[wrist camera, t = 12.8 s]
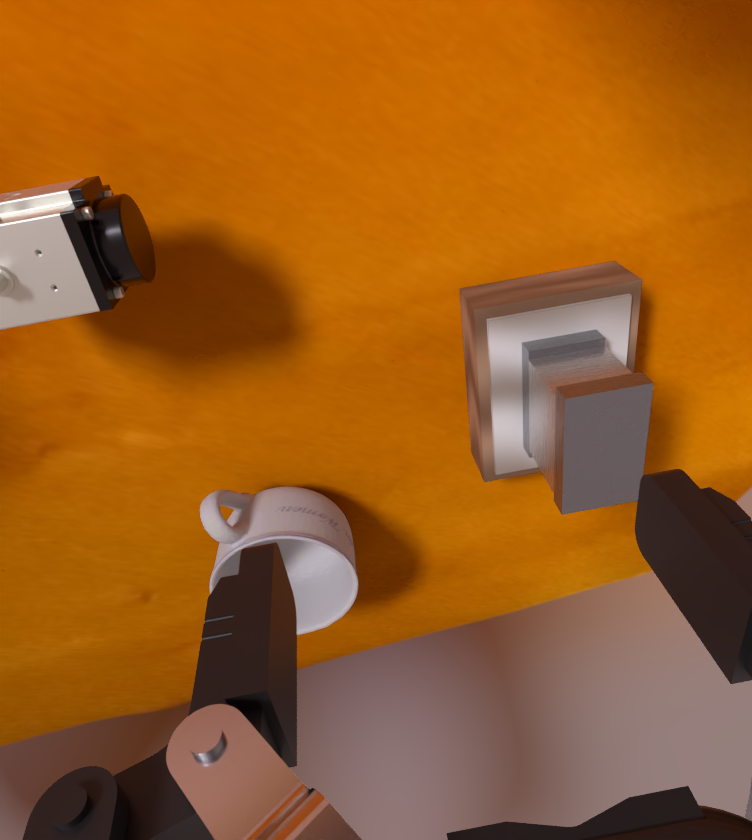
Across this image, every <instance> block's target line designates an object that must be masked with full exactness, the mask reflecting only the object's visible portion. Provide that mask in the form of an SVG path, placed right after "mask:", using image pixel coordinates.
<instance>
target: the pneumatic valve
mask: <svg viewBox="0 0 752 840" xmlns="http://www.w3.org/2000/svg"><path fill="white" fill-rule="evenodd" d="M154 276H155V256H154V250H153V245H152V241H151V238H150V234H149V231H148V228H147V225H146V223H145V220H144V218H143V216H142V214H141V212H140V210H139V208H138V206H137V205H136V203H135V202H134V200H133V199H132V198H131V197H130V196H128V195H127V194H119V195H114V194H113V192H112V191H111V188H110V186H109V185H103V186H102V183H101V180H100V178H99V176H95V177H90V178H84V179H79V180H73V181H68V182H62V183H57V184H52V185H46V186H41V187H35V188H30V189H24V190H19V191H13V192H8V193H3V194H0V330H3V329H8V328H13V327H19V326H24V325H29V324H35V323H40V322H45V321H51V320H56V319H61V318H67V317H72V316H77V315H83V314H88V313H93V312H99V311H104V310H109V309H113V308H114V307H115V305H116V304H117V303H118V301H119V300H120V298H123V297H124V296H125V294H124V293H125V291H126V290H127V288H128V287H129V286H133V285H138V284H144V283H149V282H151V281H152V280H153V279H154Z"/></svg>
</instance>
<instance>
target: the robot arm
mask: <svg viewBox="0 0 752 840" xmlns="http://www.w3.org/2000/svg"><path fill="white" fill-rule="evenodd" d="M635 534H636V540H637V543H638V546H639V549H640V551H641V553H642V555H643V556H644V558H645V559H646V561H647V562H648V564H649V565H650V567H651V568H652V570H653V571H654V573H655V574H656V576H657V577H658V578H659V580H660V581H661V583H662V584H663V586H664V587H665V589H666V590H667V592H668V593H669V595H670V596H671V597H672V599H673V600H674V602H675V603H676V605H677V606H678V607H679V609H680V611H681V612H682V613H683V615H684V616H685V618H686V619H687V621H688V622H689V624H690V625H691V626H692V628H693V630H694V631H695V632H696V634H697V635H698V637H699V638H700V639H701V641H702V643H703V644H704V646H705V647H706V649H707V650H708V651H709V653H710V654H711V656H712V657H713V659H714V660H715V662H716V663H717V665H718V666H719V667H720V669H721V670H722V672H723V673H724V675H725V676H726V678H727V679H728V681H729V682H730V684H734V683H739V682H744V681H750V680H752V521H751V518H750V517H749V516H748V515H747V514H746V513H745V512H744V511H743V510H742V509H741V508H740V507H739V505H737V503H736V502H735V501H733V500H732V499H730V498H728V497H726V496H724V495H723V494H721V493H719V492H717V491H715V490H714V489H712V488H710V487H709V488H704V489H700V488H699V487H698V486H697V485H696V484H695V483H694V482H693V481H692V480H691V478H690V477H689V476H688V475H687V474H686V473H685V472H684V471H682V470H680V469H674V470H669V471H663V472H658V473H653V474H647V475H644V476H642V478H641V480H640V486H639V495H638V505H637V514H636V523H635ZM294 766H297V617H296V606H295V600H294V595H293V591H292V587H291V584H290V581H289V578H288V575H287V571H286V568H285V565H284V562H283V559H282V555H281V552H280V549H279V546H278V544H277V543H276V542H275V543H270V544H265V545H259V546H254V547H248V548H243V549H242V550H241V555H240V563H239V572H238V574H237V575H232V576H226V577H221V578H220V580H219V581H218V583H217V584H216V586H215V588H214V589H213V591H212V593H211V594H210V596H209V597H208V602H207V608H206V614H205V624H204V627H203V633H202V642H201V645H200V651H199V658H198V664H197V670H196V676H195V683H194V689H193V695H192V701H191V707H190V711H189V714H188V717H187V718H186V719H185V720H184V721H183V722H182V723H181V724H180V725H179V726H178V727H177V729H176V730H175V732H174V733H173V735H172V737H171V739H170V741H169V744H168V745H167V746H166V747H164V748H163V749H162V750H160V751H159V752H158V753H156V754H154V755H153V756H151V757H149V758H147V759H145V760H143V761H141V762H139V763H137V764H135V765H134V766H132V767H130V768H128V769H126V770H124V771H122V772H120V773H118V774H116V775H114V776H112V774H111V773H110V772H109V771H108V770H106V769H104V768H101V767H97V766H89V767H83V768H80V769H77V770H74V771H72V772H70V773H68V774H66V775H65V776H63V777H62V778H60V779H59V780H57V782H55V783H54V784H53V785H52V786H51V787H50V788H48V790H47V791H46V792H45V793H44V794H43V795H42V796H41V798H40V799H39V801H38V802H37V804H36V805H35V807H34V809H33V811H32V813H31V815H30V817H29V820H28V823H27V826H26V830H25V833H24V837H23V840H362V839H361V838H360V837H359V836H358V835H357V833H356V832H355V831H354V830H353V829H352V828H351V827H350V826H349V824H348V823H347V822H346V821H345V820H344V819H343V818H342V816H341V815H340V814H339V813H338V812H337V811H336V810H335V808H334V807H333V806H332V805H331V804H330V803H329V802H328V801H327V800H326V798H324V797H323V795H321V794H320V793H319V792H318V791H317V790H316V789H313V788H312V789H311V790H310V789H308V788H307V787H306V786H305V785H304V784H303V783H302V782H301V781H300V780H299V779H298V778H297V776H296V775H295V774H294V773H293V772H292V771H291V770H290V768H289V767H294ZM447 838H448V840H752V780H751V788H750V795H749V800H748V804H747V809H746V814H745V818H743V817H741V816H739V815H736V814H733V813H730V812H727V811H724V810H720V809H716V808H711V807H707V806H699V805H698V804H697V802H696V800H695V798H694V796H693V794H692V792H691V791H690V789H689V787H688V786H686V787H680V788H675V789H670V790H665V791H660V792H655V793H650V794H645V795H640V796H635V797H629V798H628V799H626V800H624V801H622V802H620V803H618V804H617V805H615V806H613V807H611V808H609V809H608V810H606V811H604V812H602V813H601V814H598V815H597V816H595V817H593V818H591V819H589V820H588V821H586V822H584V823H582V824H581V825H578V826H575V827H560V826H548V825H538V824H527V823H516V822H503V823H498V824H492V825H487V826H482V827H477V828H472V829H467V830H461V831H456V832H451V833H447Z"/></svg>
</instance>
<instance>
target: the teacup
mask: <svg viewBox="0 0 752 840" xmlns="http://www.w3.org/2000/svg"><path fill="white" fill-rule="evenodd" d="M220 505H223V506H226V507H229V508H231V509H234V511H233V512H232V514H231V515H230V517H229V518H228V520H227V521H226V520H225V519H224V517H223V516H222V514H221V511H220ZM200 517H201V520H202V524H203V526H204V528H205V529H206V531H207V532H208V533H209V534H210V536H211V537H213V538H214V539H215V540H217V541H219V542H220V543H219V547H218V552H217V557H216V562H215V567H214V569H213V571H212V574H211V578H210V584H209V586H210V594H211V593H212V591H213V589H214V588H215V586H216V584H217V583H218V581H219V580H220V578H221V577H226V576H232V575H237V574H238V572H239V563H240V555H241V550H242V549H243V548H248V547H254V546H259V545H265V544H270V543H275V542H276V543H277V544H278V546H279V549H280V552H281V555H282V559H283V562H284V565H285V568H286V571H287V575H288V578H289V581H290V584H291V587H292V591H293V595H294V600H295V606H296V617H297V635H299V634H304V633H308V632H313V631H316V630H318V629H322V628H325V627H327V626H329V625H330V624H332V623H333V622H335V621H337V620H338V619H339V618H341V617H342V616H343V615H344V614H345V613H346V612H347V611H348V610H349V609H350V608H351V606H352V605H353V603H354V601H355V599H356V596H357V592H358V575H357V572H356V563H355V551H354V544H353V537H352V532H351V529H350V526H349V523H348V521H347V519H346V517H345V515H344V514H343V512H342V511H341V510H340V508H339V507H338V506H337V505H336V504H335V503H334V502H332V501H331V500H330V499H328V498H327V497H325V496H324V495H322V494H320V493H317V492H315V491H312V490H309V489H305V488H300V487H276V488H271V489H267V490H264V491H261V492H258V493H256V494H254V495H251V494H249V493H241V494H240V493H237V492H234V491H231V490H217V491H214V492H212V493H211V494H209V495H208V496H207V497H206V498H205V499H204V500H203V501H202V503H201V506H200Z"/></svg>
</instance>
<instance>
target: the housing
mask: <svg viewBox="0 0 752 840" xmlns="http://www.w3.org/2000/svg"><path fill="white" fill-rule="evenodd" d="M653 385H654V383H653V382H652V381H651V380H650V379H649V378H648V377H647V376H646V375H645V374H644V373H642V372H637V373H632V372H631V371H630V370H629V369H628V368H627V367H626V366H625V365H624V364H623V363H622V362H621V361H620V360H618V359H617V358H616V357H615V356H614V355H613V354H612V353H611V352H610V351H609V350H608V349H607V348H606V347H605V337H604V336H603V335H602V334H601V333H600V332H599V331H597V330H596V329H595V330H590V331H584V332H578V333H573V334H567V335H562V336H556V337H550V338H545V339H539V340H533V341H528V342H522V396H523V447H524V449H525V451H526V453H527V454H528V456H529V458H532V457H533V458H534V460H535V462H536V463H537V465H538V467H539V468H540V470H541V472H542V474H543V475H544V477H545V479H546V480H547V482H548V484H549V486H550V487H551V489H552V491H553V492H554V502H555V503H556V505H557V507H558V509H559V510H560V512H561V514H562V515H563V514H568V513H573V512H579V511H584V510H590V509H595V508H601V507H606V506H611V505H617V504H622V503H628V502H633V501H638V495H639V486H640V480H641V478H642V476H643V472H644V463H645V454H646V446H647V437H648V428H649V420H650V411H651V402H652V394H653Z"/></svg>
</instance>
